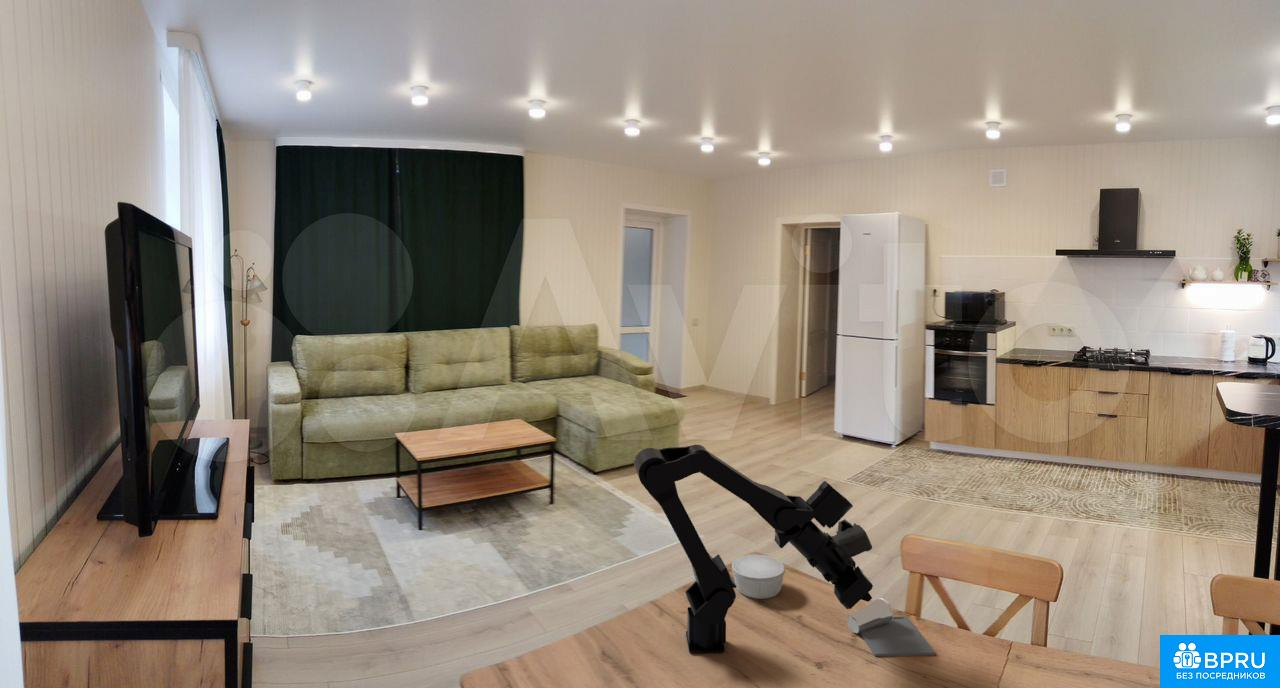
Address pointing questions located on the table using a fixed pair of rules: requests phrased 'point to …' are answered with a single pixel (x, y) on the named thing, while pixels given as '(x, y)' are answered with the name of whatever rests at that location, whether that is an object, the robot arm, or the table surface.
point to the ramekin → (758, 576)
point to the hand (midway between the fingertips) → (869, 599)
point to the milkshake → (871, 616)
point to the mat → (897, 639)
